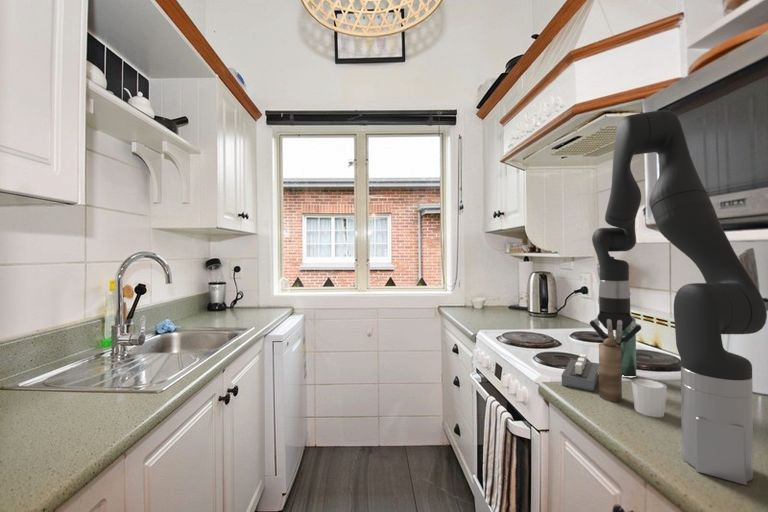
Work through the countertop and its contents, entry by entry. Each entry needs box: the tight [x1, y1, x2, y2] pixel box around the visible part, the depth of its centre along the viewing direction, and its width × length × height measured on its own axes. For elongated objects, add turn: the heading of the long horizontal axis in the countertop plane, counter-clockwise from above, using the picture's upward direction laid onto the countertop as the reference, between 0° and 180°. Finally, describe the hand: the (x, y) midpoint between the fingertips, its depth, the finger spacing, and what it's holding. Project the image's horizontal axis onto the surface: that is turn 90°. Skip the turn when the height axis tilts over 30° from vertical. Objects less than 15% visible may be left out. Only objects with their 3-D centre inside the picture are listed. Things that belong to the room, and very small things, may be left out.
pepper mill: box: [598, 338, 623, 403], centre depth 89 cm, size 5×5×16 cm
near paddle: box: [575, 362, 583, 374], centre depth 99 cm, size 3×2×3 cm, turn 143°
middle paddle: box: [576, 357, 585, 370], centre depth 103 cm, size 3×2×3 cm, turn 143°
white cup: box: [630, 378, 668, 418], centre depth 81 cm, size 7×7×7 cm
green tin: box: [614, 315, 637, 377], centre depth 105 cm, size 5×5×19 cm
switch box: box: [561, 358, 599, 392], centre depth 103 cm, size 18×8×3 cm, turn 143°
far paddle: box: [579, 353, 588, 365], centre depth 107 cm, size 3×2×3 cm, turn 143°
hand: (615, 354), depth 97 cm, fingers closed
